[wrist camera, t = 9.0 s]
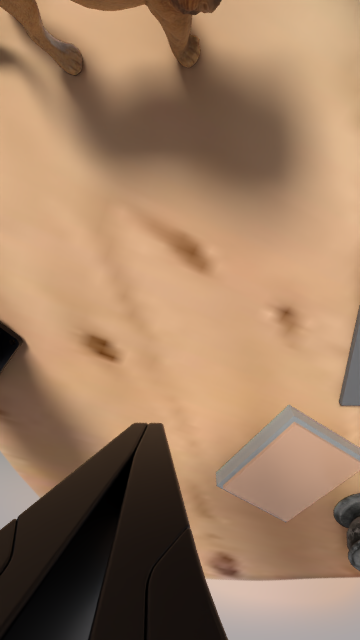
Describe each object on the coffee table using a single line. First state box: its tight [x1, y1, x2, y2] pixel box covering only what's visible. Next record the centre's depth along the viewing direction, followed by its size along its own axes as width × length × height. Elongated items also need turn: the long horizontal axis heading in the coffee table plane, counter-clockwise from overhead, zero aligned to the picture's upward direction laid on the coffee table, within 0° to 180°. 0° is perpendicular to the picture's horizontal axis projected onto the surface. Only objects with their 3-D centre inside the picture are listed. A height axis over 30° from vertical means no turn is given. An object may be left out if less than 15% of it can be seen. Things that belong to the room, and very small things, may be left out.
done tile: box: [216, 405, 360, 522], centre depth 23 cm, size 10×8×2 cm
